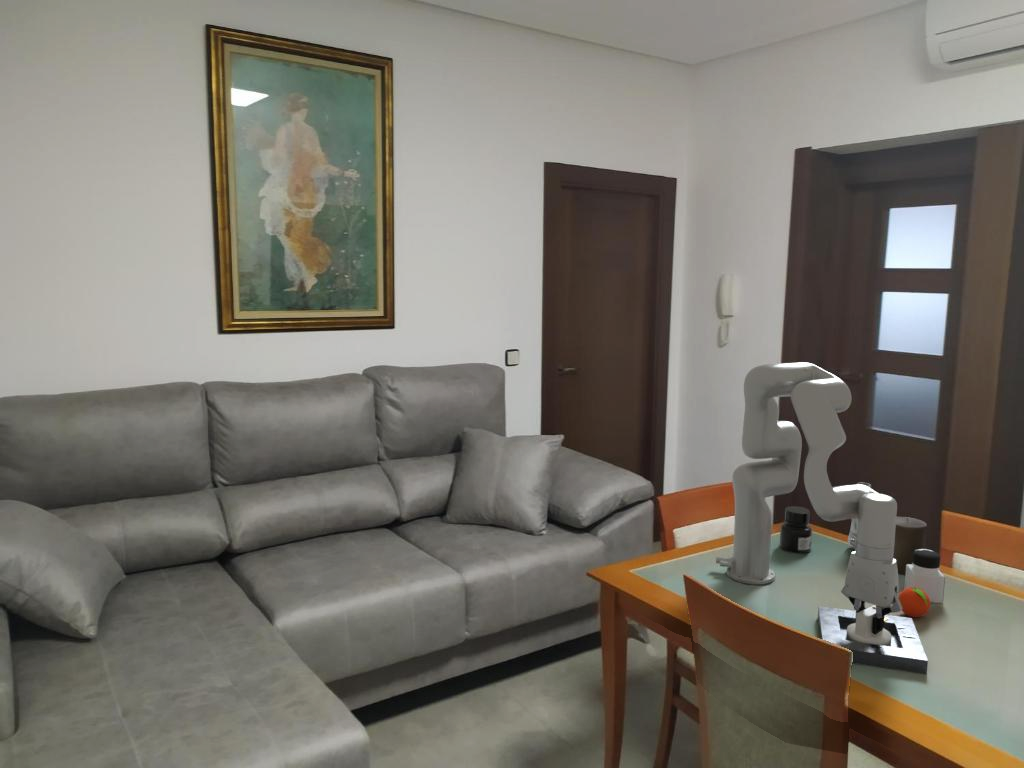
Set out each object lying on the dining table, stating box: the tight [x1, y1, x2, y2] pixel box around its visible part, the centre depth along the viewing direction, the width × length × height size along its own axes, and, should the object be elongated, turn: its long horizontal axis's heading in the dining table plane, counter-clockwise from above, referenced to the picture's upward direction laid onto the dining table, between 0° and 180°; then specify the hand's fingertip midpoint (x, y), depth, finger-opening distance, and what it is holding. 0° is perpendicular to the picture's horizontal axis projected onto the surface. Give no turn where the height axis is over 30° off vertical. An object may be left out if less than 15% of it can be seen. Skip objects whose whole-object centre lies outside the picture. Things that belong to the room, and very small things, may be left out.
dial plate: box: [817, 605, 929, 675], centre depth 169 cm, size 20×20×3 cm
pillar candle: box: [893, 516, 928, 576], centre depth 209 cm, size 10×10×15 cm
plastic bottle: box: [847, 482, 872, 551], centre depth 223 cm, size 6×7×20 cm
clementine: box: [898, 587, 931, 618], centre depth 182 cm, size 8×7×7 cm
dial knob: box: [847, 604, 892, 646], centre depth 168 cm, size 9×9×7 cm
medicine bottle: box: [903, 548, 946, 604], centre depth 192 cm, size 7×7×12 cm
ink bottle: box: [779, 505, 813, 554], centre depth 225 cm, size 10×9×12 cm
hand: (868, 628), depth 169 cm, fingers closed on dial knob, 2 cm apart
